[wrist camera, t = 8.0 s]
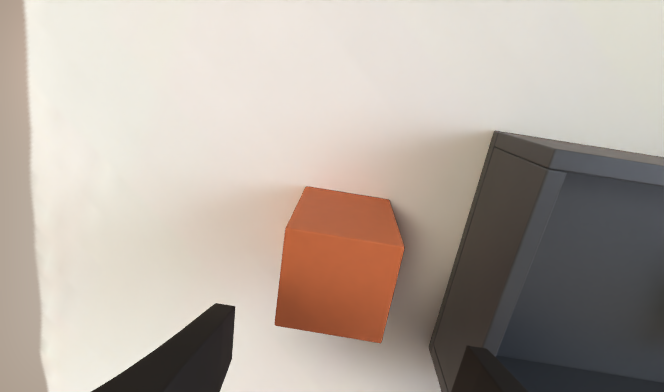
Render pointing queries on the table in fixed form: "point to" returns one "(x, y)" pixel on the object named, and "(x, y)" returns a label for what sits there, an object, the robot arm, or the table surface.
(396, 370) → the table surface
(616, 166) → the tub
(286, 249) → the terracotta block
